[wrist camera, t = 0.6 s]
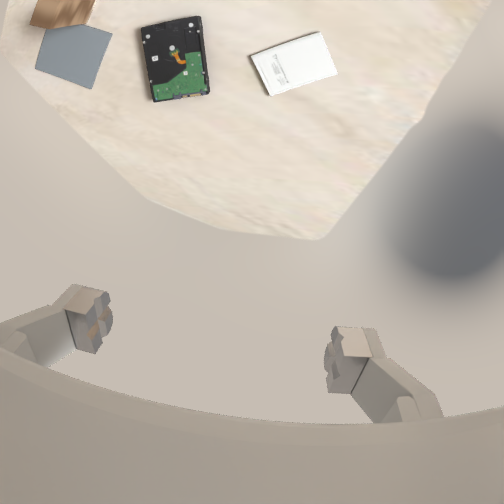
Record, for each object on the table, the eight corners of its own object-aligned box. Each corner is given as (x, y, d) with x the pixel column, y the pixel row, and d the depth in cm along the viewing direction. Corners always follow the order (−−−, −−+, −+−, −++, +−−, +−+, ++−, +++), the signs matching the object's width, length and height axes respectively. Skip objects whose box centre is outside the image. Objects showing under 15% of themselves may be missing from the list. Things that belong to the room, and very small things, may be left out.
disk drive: (145, 27, 41) (158, 100, 50) (139, 28, 39) (152, 103, 48) (201, 15, 40) (212, 91, 49) (198, 14, 38) (209, 95, 47)
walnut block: (77, -5, 34) (38, -3, 25) (97, 0, 35) (59, 1, 26) (68, 18, 37) (29, 24, 28) (87, 23, 38) (49, 29, 29)
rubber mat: (51, 16, 36) (50, 16, 35) (112, 33, 41) (111, 34, 40) (36, 68, 43) (34, 68, 43) (91, 88, 48) (90, 89, 47)
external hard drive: (336, 73, 46) (270, 95, 50) (319, 31, 41) (251, 55, 45) (338, 74, 44) (270, 97, 48) (320, 31, 40) (250, 56, 43)
